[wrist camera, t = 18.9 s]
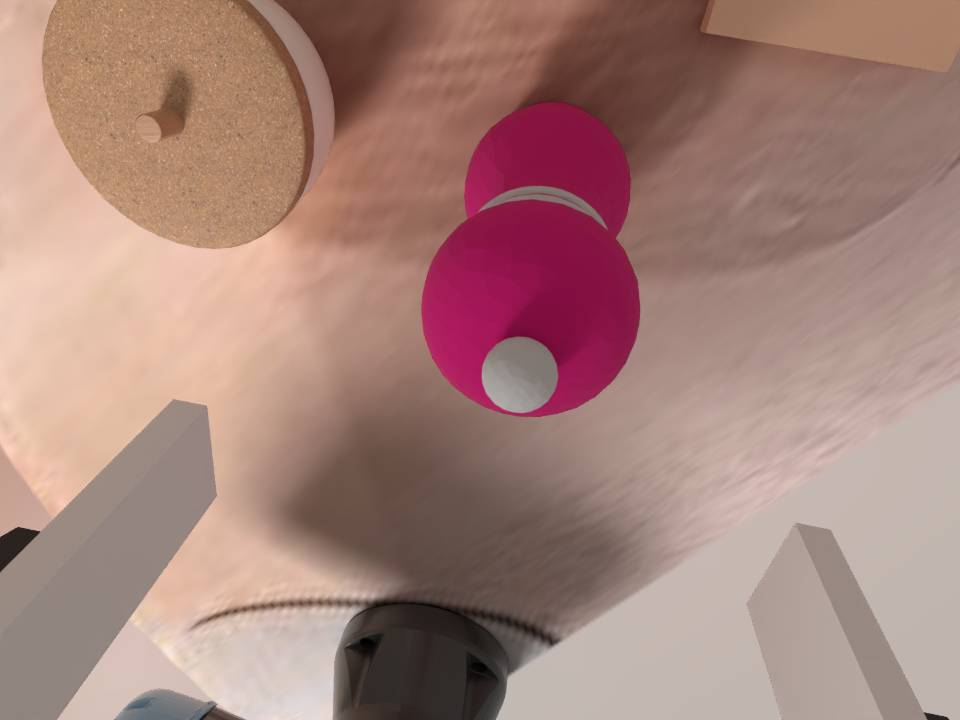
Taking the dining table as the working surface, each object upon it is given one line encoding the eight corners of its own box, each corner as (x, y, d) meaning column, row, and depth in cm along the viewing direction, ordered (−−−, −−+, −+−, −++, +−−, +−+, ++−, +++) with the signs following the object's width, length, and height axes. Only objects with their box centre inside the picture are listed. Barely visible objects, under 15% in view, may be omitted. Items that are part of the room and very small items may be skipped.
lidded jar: (125, -28, 28) (-52, -35, 20) (344, -44, 26) (247, -59, 19) (194, 200, 34) (76, 264, 26) (378, 197, 32) (314, 265, 24)
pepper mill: (492, 75, 28) (367, 203, 11) (643, 106, 28) (745, 284, 11) (468, 221, 32) (348, 478, 15) (601, 250, 32) (628, 541, 15)
